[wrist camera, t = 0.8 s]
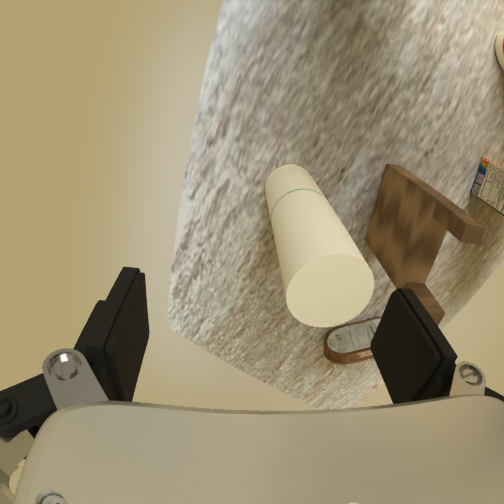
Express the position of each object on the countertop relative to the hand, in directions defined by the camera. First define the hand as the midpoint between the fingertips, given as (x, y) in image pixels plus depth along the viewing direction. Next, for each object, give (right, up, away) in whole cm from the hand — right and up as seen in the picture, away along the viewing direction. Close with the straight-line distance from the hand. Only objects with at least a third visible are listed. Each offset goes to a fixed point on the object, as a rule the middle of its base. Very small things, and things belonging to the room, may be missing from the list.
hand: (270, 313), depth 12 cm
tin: (+20, -12, +49) cm, 54 cm away
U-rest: (+20, +10, +36) cm, 42 cm away
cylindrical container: (+5, +11, +35) cm, 37 cm away
